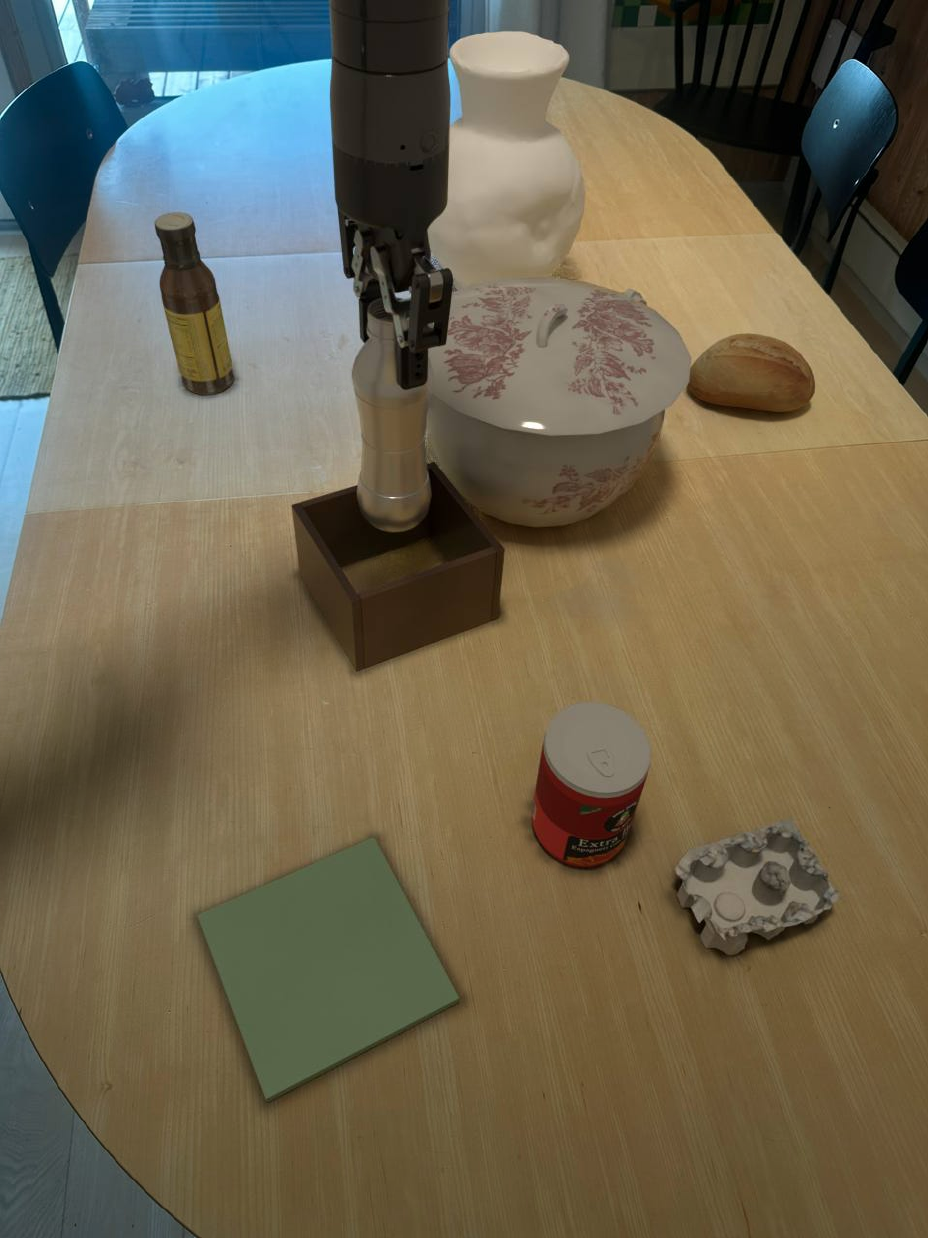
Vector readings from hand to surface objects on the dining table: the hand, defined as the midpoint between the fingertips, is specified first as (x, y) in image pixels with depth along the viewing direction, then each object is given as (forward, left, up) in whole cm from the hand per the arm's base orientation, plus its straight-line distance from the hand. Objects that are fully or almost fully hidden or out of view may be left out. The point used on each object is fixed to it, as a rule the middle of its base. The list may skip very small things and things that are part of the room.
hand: (393, 362), depth 74 cm
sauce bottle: (-5, +42, -26) cm, 50 cm away
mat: (-20, -30, -26) cm, 44 cm away
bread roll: (+52, +11, -26) cm, 59 cm away
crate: (0, 0, -26) cm, 26 cm away
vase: (+37, +47, -26) cm, 65 cm away
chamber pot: (+21, +9, -26) cm, 35 cm away
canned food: (+2, -29, -26) cm, 39 cm away
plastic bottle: (0, 0, -16) cm, 16 cm away
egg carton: (+10, -40, -26) cm, 49 cm away
